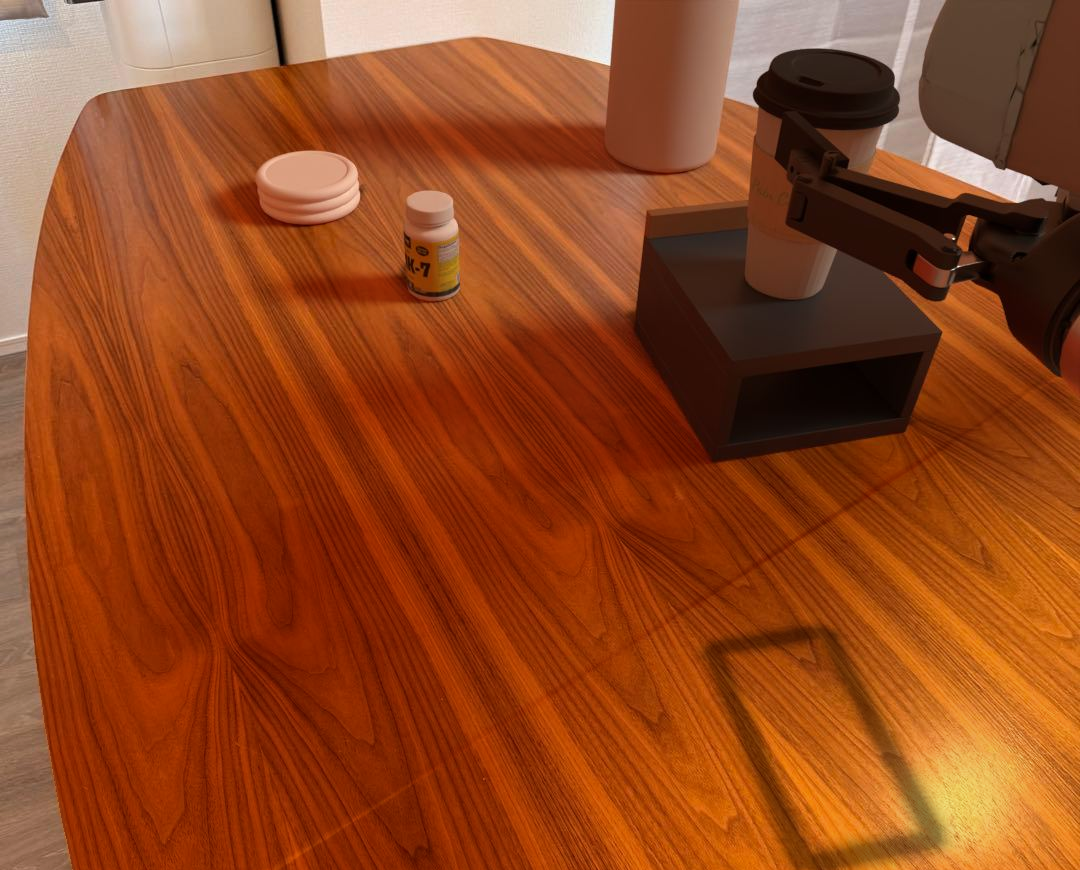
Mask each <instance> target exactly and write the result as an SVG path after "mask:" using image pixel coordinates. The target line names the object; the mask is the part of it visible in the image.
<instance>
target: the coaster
mask: <svg viewBox="0 0 1080 870" xmlns="http://www.w3.org/2000/svg"><path fill="white" fill-rule="evenodd" d="M358 178H359V172H358V169H357V167H356V165H355V164H354V162H352V161H351V160H350V159H348V158H347V157H345V156H343V155H341V154H339V153H334V152H331V151H330V152H329V151H323V150H297V151H292V152H286V153H283V154H279V155H277V156H273V157H271V158H270V159H268V160H266V161H264V162H263V164H261V166H260V167H258V169H257V171H256V172H255V179H254V181H255V183H256V186H257V195H258V197H259V205H260V207H261V209H262V211H263V212H264V213H265V214H266V215H267V216H269V217H271V218H272V219H274V220H277V221H279V222H282V223H287V224H291V225H305V226H306V225H321V224H325V223H330V222H334V221H337V220H341V219H343V218H344V217H346V216H348V215H350V214H351V213H352V212H353V211H354V210H355V209H356V208H357V207H358V205H359V204H360V200H361V191H360V183H359V179H358Z"/></svg>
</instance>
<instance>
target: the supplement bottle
mask: <svg viewBox="0 0 1080 870" xmlns="http://www.w3.org/2000/svg"><path fill="white" fill-rule="evenodd" d="M405 216H406V218H405V220H404V221H403V222H404V223H403V226H402V227H403V228H402V231H403V245H404V260H405V270H406V271H405V273H406V284H407V290H408V293H410V295H412V296H413V297H415V298H417V299H419V300H422V301H425V302H442V301H445V300H448V299H451V298H453V297H454V296H456V295H457V294H458V292H459V291H460V289H461V264H460V263H461V262H460V235H459V234H460V233H459V232H460V231H459V224H458V222H457V220H456V219H455V217H454V216H455V210H454V200H453V198H452V197H451V195H449V194H448V193H445V192H443V191H441V190H440V191H438V190H432V189H431V190H419V191H415V192H413V193H411V194H410V195H408V196H407V197H406V199H405Z"/></svg>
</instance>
